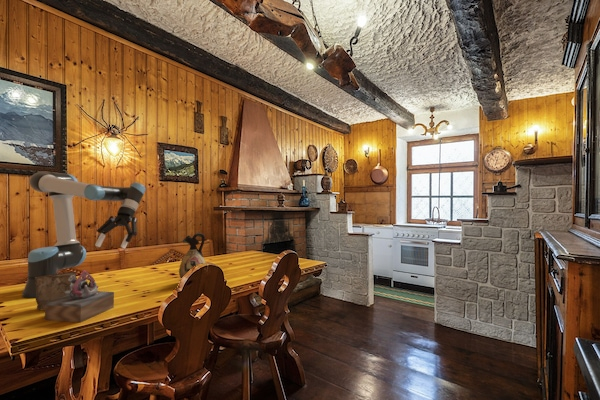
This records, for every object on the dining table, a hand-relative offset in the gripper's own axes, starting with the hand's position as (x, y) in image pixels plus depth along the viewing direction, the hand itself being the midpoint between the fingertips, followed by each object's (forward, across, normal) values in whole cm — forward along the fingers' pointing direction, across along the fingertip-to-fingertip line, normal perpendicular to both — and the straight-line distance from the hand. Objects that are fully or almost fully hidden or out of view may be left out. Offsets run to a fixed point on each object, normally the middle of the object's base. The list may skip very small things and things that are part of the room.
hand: (109, 247), depth 142 cm
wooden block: (+31, -3, +2) cm, 31 cm away
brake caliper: (+25, -2, +4) cm, 25 cm away
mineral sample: (+29, +14, -3) cm, 32 cm away
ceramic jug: (+3, -27, -42) cm, 50 cm away
